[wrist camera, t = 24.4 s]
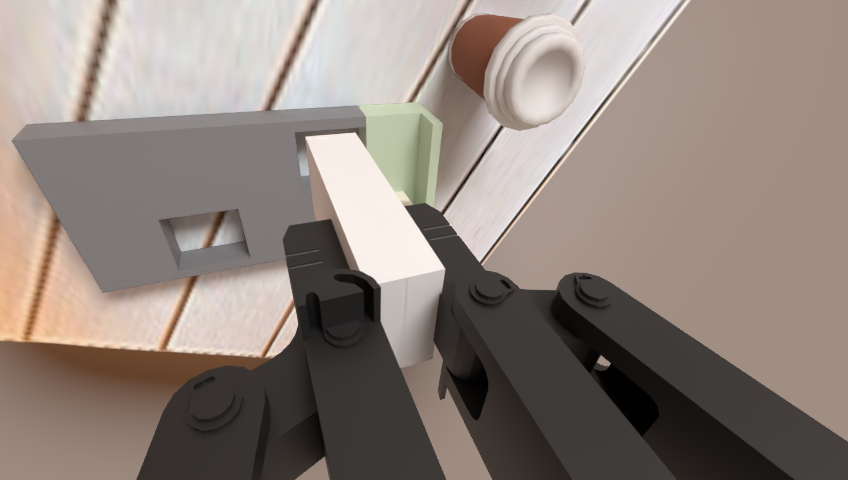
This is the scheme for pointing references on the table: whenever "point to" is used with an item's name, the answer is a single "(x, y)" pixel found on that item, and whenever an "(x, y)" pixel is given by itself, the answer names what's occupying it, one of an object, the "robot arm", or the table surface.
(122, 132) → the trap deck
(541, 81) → the coffee cup
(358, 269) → the robot arm
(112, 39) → the table surface
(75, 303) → the table surface
